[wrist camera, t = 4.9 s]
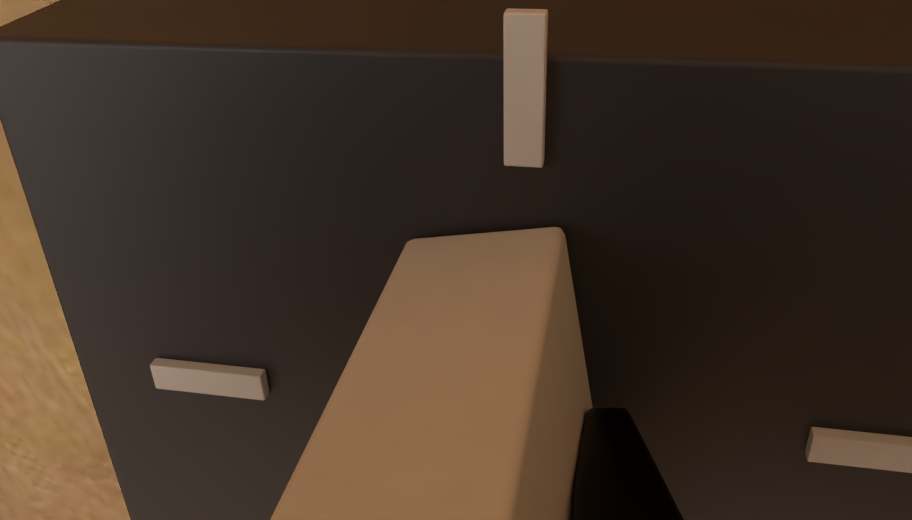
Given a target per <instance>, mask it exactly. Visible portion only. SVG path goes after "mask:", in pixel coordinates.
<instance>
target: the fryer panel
mask: <svg viewBox="0 0 912 520" xmlns="http://www.w3.org/2000/svg"><path fill="white" fill-rule="evenodd" d="M0 119H1V122H2V125H3V128H4V131H5V135H6V138H7V141H8V144H9V147H10V150H11V153H12V156H13V159H14V162H15V165H16V168H17V171H18V174H19V178H20V181H21V184H22V187H23V190H24V193H25V196H26V199H27V202H28V205H29V208H30V211H31V214H32V217H33V221H34V224H35V227H36V230H37V233H38V236H39V239H40V242H41V245H42V248H43V251H44V254H45V257H46V260H47V263H48V267H49V270H50V273H51V276H52V279H53V282H54V285H55V288H56V291H57V294H58V297H59V300H60V303H61V306H62V310H63V313H64V316H65V319H66V322H67V325H68V328H69V331H70V334H71V337H72V340H73V343H74V346H75V349H76V352H77V356H78V359H79V362H80V365H81V368H82V371H83V374H84V377H85V380H86V383H87V386H88V389H89V392H90V395H91V399H92V402H93V405H94V408H95V411H96V414H97V417H98V420H99V423H100V426H101V429H102V432H103V435H104V438H105V442H106V445H107V448H108V451H109V454H110V457H111V460H112V463H113V466H114V469H115V472H116V475H117V478H118V481H119V484H120V488H121V491H122V494H123V497H124V500H125V503H126V506H127V509H128V512H129V515H130V518H131V520H270V519H271V517H272V515H273V513H274V511H275V509H276V507H277V505H278V503H279V501H280V499H281V497H282V495H283V492H284V490H285V488H286V486H287V484H288V482H289V480H290V478H291V476H292V474H293V472H294V470H295V468H296V466H297V464H298V462H299V460H300V458H301V456H302V454H303V452H304V450H305V448H306V446H307V444H308V442H309V440H310V438H311V436H312V434H313V432H314V430H315V427H316V425H317V423H318V421H319V419H320V417H321V415H322V413H323V411H324V409H325V407H326V405H327V403H328V401H329V399H330V397H331V395H332V393H333V391H334V389H335V387H336V385H337V383H338V381H339V379H340V377H341V375H342V373H343V371H344V369H345V367H346V365H347V362H348V360H349V358H350V356H351V354H352V352H353V350H354V348H355V346H356V344H357V342H358V340H359V338H360V336H361V334H362V332H363V330H364V328H365V326H366V324H367V322H368V320H369V318H370V316H371V314H372V312H373V310H374V308H375V306H376V304H377V302H378V300H379V297H380V295H381V293H382V291H383V289H384V287H385V285H386V283H387V281H388V279H389V277H390V275H391V273H392V271H393V269H394V267H395V265H396V263H397V261H398V259H399V257H400V255H401V253H402V251H403V249H404V247H405V245H406V243H407V242H408V241H410V240H412V239H417V238H429V237H440V236H452V235H464V234H476V233H487V232H499V231H511V230H523V229H534V228H546V227H559V228H561V229H562V231H563V232H564V234H565V237H566V244H567V250H568V256H569V263H570V269H571V275H572V281H573V288H574V294H575V300H576V306H577V313H578V319H579V325H580V331H581V338H582V344H583V350H584V357H585V363H586V369H587V375H588V382H589V388H590V394H591V400H592V407H593V408H625V409H627V410H628V411H629V413H630V414H631V416H632V418H633V420H634V422H635V424H636V426H637V428H638V430H639V432H640V434H641V436H642V438H643V440H644V442H645V444H646V446H647V448H648V450H649V452H650V454H651V456H652V458H653V460H654V461H655V463H656V465H657V467H658V469H659V471H660V473H661V475H662V477H663V479H664V481H665V483H666V485H667V487H668V489H669V491H670V493H671V495H672V497H673V499H674V501H675V503H676V505H677V507H678V509H679V511H680V513H681V515H682V517H683V519H684V520H912V0H60V1H58V2H55V3H53V4H51V5H49V6H46V7H44V8H42V9H40V10H37V11H35V12H33V13H31V14H28V15H26V16H24V17H21V18H19V19H17V20H15V21H12V22H10V23H8V24H6V25H3V26H1V27H0Z"/></svg>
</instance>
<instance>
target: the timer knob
mask: <svg viewBox="0 0 912 520" xmlns="http://www.w3.org/2000/svg"><path fill="white" fill-rule="evenodd" d="M591 408H593V407H592V400H591V394H590V388H589V382H588V375H587V369H586V363H585V357H584V350H583V344H582V338H581V331H580V325H579V319H578V313H577V306H576V300H575V294H574V288H573V281H572V275H571V269H570V263H569V256H568V250H567V244H566V237H565V234H564V232H563V231H562V229H561V228H559V227H546V228H534V229H523V230H511V231H499V232H487V233H476V234H464V235H452V236H440V237H429V238H417V239H412V240H410V241H408V242H407V243H406V245H405V247H404V249H403V251H402V253H401V255H400V257H399V259H398V261H397V263H396V265H395V267H394V269H393V271H392V273H391V275H390V277H389V279H388V281H387V283H386V285H385V287H384V289H383V291H382V293H381V295H380V297H379V300H378V302H377V304H376V306H375V308H374V310H373V312H372V314H371V316H370V318H369V320H368V322H367V324H366V326H365V328H364V330H363V332H362V334H361V336H360V338H359V340H358V342H357V344H356V346H355V348H354V350H353V352H352V354H351V356H350V358H349V360H348V362H347V365H346V367H345V369H344V371H343V373H342V375H341V377H340V379H339V381H338V383H337V385H336V387H335V389H334V391H333V393H332V395H331V397H330V399H329V401H328V403H327V405H326V407H325V409H324V411H323V413H322V415H321V417H320V419H319V421H318V423H317V425H316V427H315V430H314V432H313V434H312V436H311V438H310V440H309V442H308V444H307V446H306V448H305V450H304V452H303V454H302V456H301V458H300V460H299V462H298V464H297V466H296V468H295V470H294V472H293V474H292V476H291V478H290V480H289V482H288V484H287V486H286V488H285V490H284V492H283V495H282V497H281V499H280V501H279V503H278V505H277V507H276V509H275V511H274V513H273V515H272V517H271V519H270V520H574V486H575V478H576V472H577V466H578V460H579V454H580V448H581V442H582V435H583V429H584V423H585V417H586V413H587V412H588V410H589V409H591Z"/></svg>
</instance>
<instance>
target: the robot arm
mask: <svg viewBox="0 0 912 520" xmlns="http://www.w3.org/2000/svg"><path fill="white" fill-rule="evenodd" d="M574 520H684V519H683V517H682V515H681V513H680V511H679V509H678V507H677V505H676V503H675V501H674V499H673V497H672V495H671V493H670V491H669V489H668V487H667V485H666V483H665V481H664V479H663V477H662V475H661V473H660V471H659V469H658V467H657V465H656V463H655V461H654V460H653V458H652V456H651V454H650V452H649V450H648V448H647V446H646V444H645V442H644V440H643V438H642V436H641V434H640V432H639V430H638V428H637V426H636V424H635V422H634V420H633V418H632V416H631V414H630V413H629V411H628V410H627V409H625V408H591V409H589V410H588V412H587V413H586V417H585V423H584V429H583V435H582V442H581V448H580V454H579V460H578V466H577V472H576V478H575V486H574Z"/></svg>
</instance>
